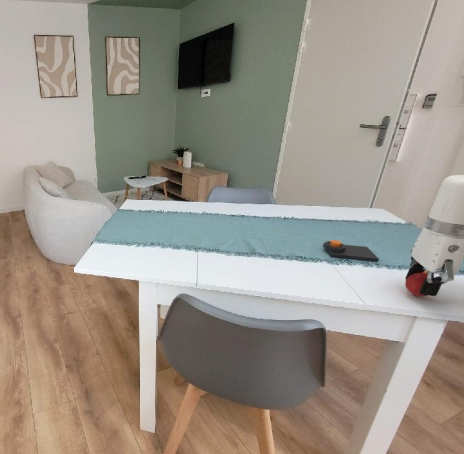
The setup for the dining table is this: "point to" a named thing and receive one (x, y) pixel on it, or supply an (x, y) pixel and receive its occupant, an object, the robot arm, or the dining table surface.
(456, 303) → the dining table surface
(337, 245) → the tare button
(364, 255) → the scale
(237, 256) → the dining table surface
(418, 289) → the onion
